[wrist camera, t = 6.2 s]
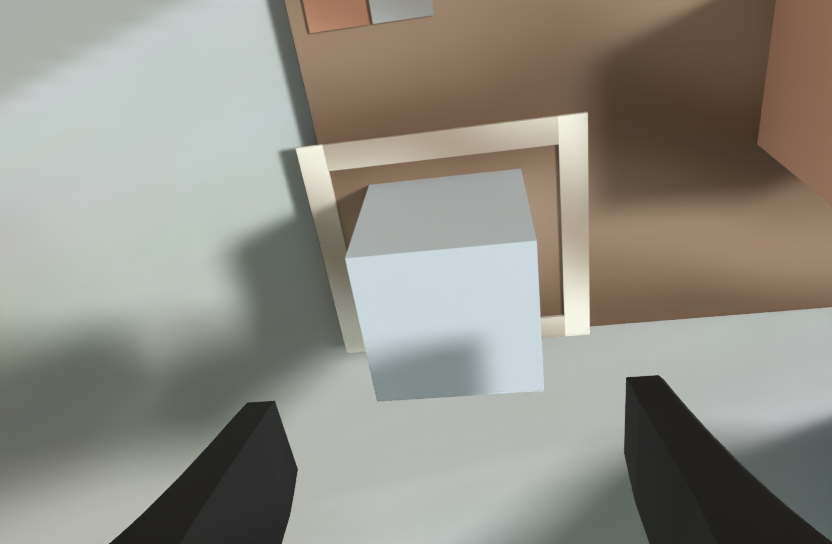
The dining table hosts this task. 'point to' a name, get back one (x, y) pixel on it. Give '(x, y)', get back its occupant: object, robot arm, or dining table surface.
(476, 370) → the grey blue block
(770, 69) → the terracotta block
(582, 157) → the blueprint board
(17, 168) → the dining table surface
